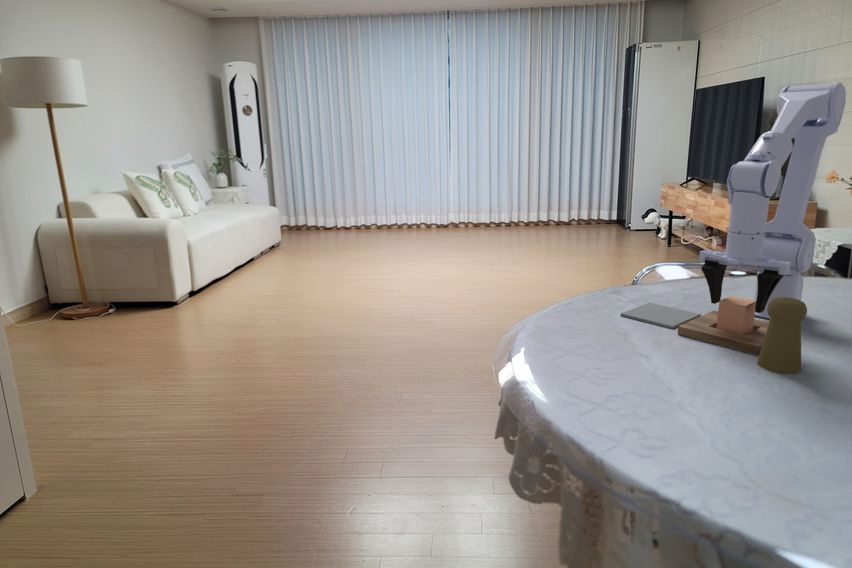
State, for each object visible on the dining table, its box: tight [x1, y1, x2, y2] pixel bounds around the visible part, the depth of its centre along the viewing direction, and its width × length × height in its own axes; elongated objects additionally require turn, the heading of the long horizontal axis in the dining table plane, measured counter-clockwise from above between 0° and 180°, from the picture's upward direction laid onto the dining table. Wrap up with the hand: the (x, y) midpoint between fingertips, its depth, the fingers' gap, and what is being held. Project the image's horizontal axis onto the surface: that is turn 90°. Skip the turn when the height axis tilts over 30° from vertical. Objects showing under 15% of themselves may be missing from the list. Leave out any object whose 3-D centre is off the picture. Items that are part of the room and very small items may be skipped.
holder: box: [677, 310, 769, 356], centre depth 107 cm, size 14×14×2 cm
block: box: [716, 295, 756, 335], centre depth 107 cm, size 4×4×6 cm
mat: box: [620, 302, 702, 330], centre depth 118 cm, size 11×11×1 cm
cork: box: [756, 297, 808, 375], centre depth 92 cm, size 6×6×11 cm
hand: (737, 306), depth 106 cm, fingers open, 7 cm apart
